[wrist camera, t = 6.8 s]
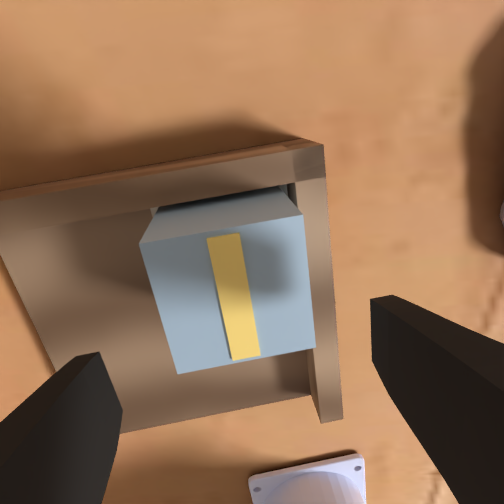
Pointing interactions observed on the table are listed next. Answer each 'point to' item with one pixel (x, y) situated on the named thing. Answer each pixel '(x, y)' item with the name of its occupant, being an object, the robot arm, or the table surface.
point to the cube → (230, 278)
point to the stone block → (502, 213)
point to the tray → (139, 288)
